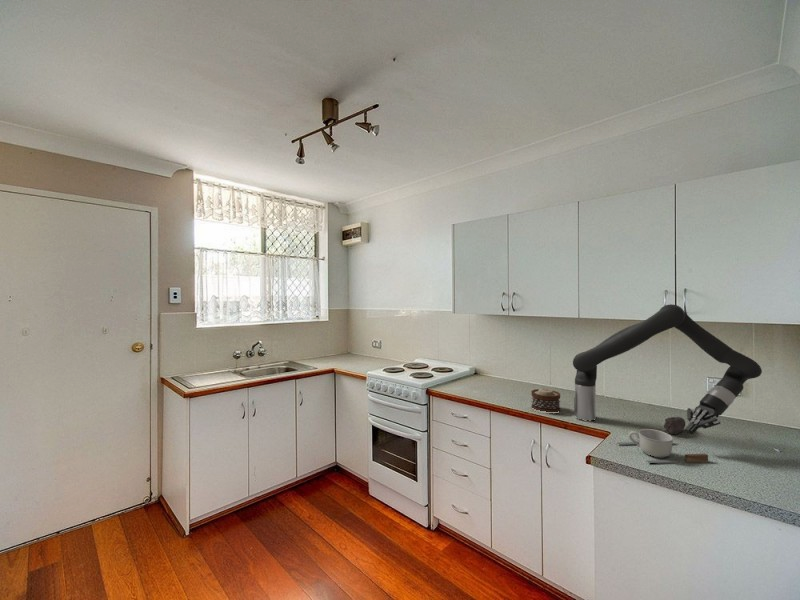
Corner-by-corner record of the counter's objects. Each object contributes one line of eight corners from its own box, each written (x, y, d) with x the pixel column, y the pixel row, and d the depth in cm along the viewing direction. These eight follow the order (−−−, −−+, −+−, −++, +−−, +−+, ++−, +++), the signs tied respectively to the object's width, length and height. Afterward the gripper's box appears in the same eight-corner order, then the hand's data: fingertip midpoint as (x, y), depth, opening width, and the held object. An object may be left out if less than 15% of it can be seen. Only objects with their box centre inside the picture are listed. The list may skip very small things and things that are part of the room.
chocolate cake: (550, 395, 180) (525, 389, 192) (550, 416, 180) (525, 408, 192) (566, 390, 188) (541, 385, 200) (566, 410, 188) (541, 404, 201)
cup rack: (651, 443, 146) (651, 437, 146) (669, 442, 147) (669, 436, 147) (687, 462, 129) (687, 455, 129) (708, 461, 130) (708, 454, 130)
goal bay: (616, 444, 146) (616, 442, 146) (639, 443, 146) (639, 441, 146) (649, 464, 128) (649, 462, 128) (675, 463, 129) (675, 461, 129)
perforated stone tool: (677, 427, 164) (677, 412, 164) (690, 431, 159) (690, 415, 159) (660, 433, 157) (660, 418, 157) (674, 437, 152) (674, 421, 152)
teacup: (673, 453, 136) (673, 433, 136) (671, 463, 128) (671, 442, 128) (631, 444, 146) (631, 424, 146) (626, 452, 138) (626, 432, 138)
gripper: (696, 389, 145) (668, 419, 144) (727, 398, 132) (697, 432, 131) (708, 401, 145) (680, 432, 145) (741, 412, 132) (710, 445, 132)
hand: (688, 432), depth 138 cm, fingers closed
